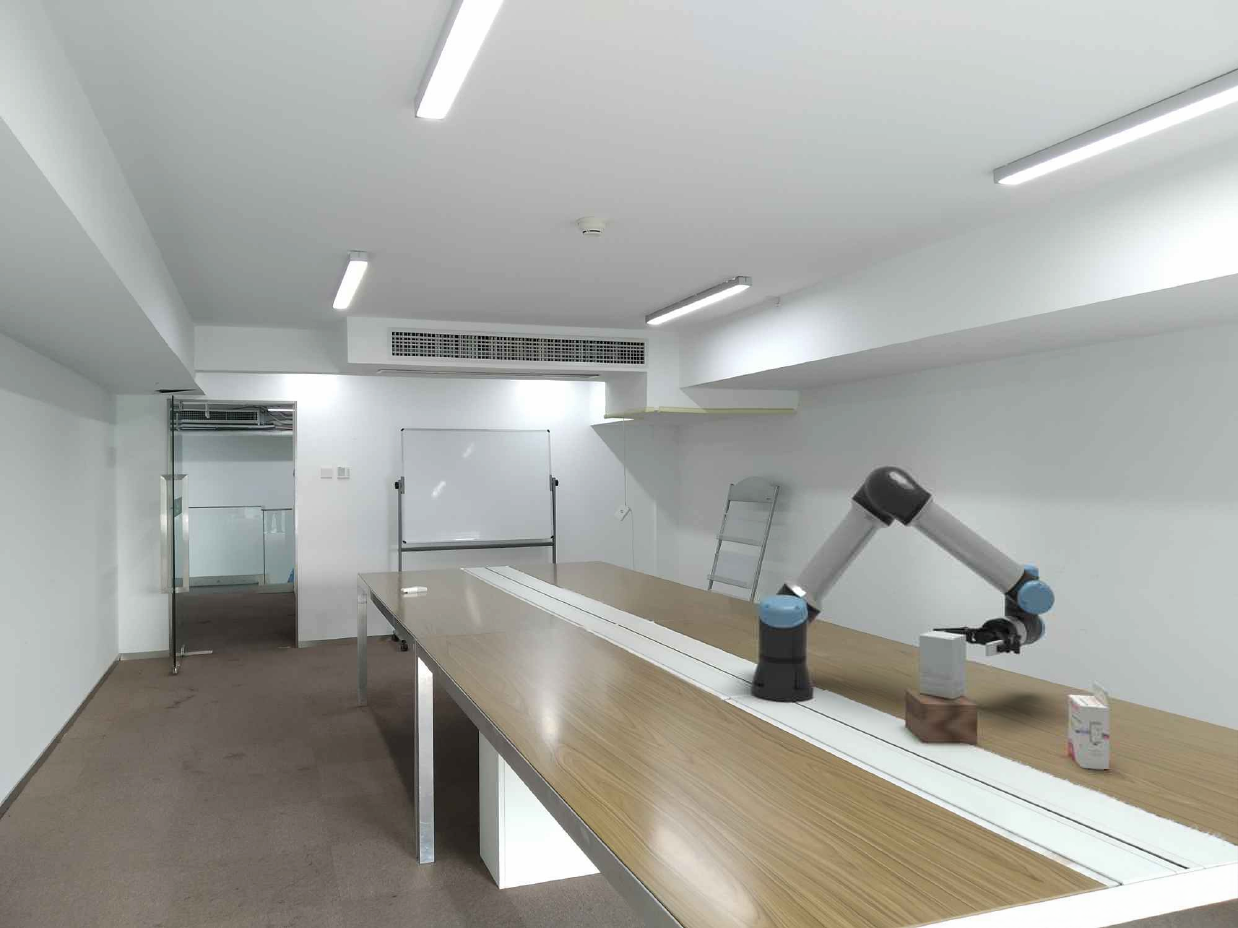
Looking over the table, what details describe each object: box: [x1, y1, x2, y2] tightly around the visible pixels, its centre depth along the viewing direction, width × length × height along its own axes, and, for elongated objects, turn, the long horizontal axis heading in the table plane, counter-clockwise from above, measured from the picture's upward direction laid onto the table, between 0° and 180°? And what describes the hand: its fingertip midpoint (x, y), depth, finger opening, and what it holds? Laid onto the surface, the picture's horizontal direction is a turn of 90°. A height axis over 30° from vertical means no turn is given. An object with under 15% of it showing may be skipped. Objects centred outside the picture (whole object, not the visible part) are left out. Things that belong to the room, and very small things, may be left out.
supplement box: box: [918, 630, 967, 699], centre depth 180 cm, size 7×7×13 cm
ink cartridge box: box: [1067, 680, 1110, 770], centre depth 161 cm, size 9×5×15 cm, turn 168°
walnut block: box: [904, 689, 978, 745], centre depth 176 cm, size 11×11×8 cm
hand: (957, 644), depth 186 cm, fingers open, 13 cm apart
